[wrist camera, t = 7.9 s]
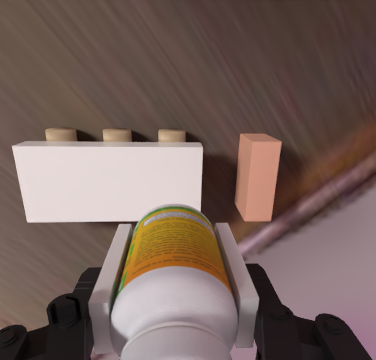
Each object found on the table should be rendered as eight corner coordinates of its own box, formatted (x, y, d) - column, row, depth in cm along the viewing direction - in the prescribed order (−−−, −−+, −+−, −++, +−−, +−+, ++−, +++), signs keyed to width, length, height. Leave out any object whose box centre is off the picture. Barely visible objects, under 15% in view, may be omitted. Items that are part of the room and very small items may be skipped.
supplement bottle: (124, 208, 16) (64, 357, 7) (209, 195, 16) (255, 327, 7) (141, 277, 18) (110, 468, 9) (218, 266, 18) (264, 444, 9)
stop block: (234, 203, 34) (244, 221, 29) (240, 133, 31) (252, 141, 27) (257, 202, 34) (270, 220, 30) (265, 133, 31) (281, 141, 27)
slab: (38, 211, 30) (27, 222, 27) (26, 141, 27) (12, 146, 25) (197, 210, 31) (200, 220, 28) (200, 142, 28) (202, 147, 26)
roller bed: (64, 207, 33) (54, 219, 30) (52, 127, 30) (39, 131, 27) (183, 207, 34) (184, 217, 31) (184, 128, 31) (186, 132, 28)
